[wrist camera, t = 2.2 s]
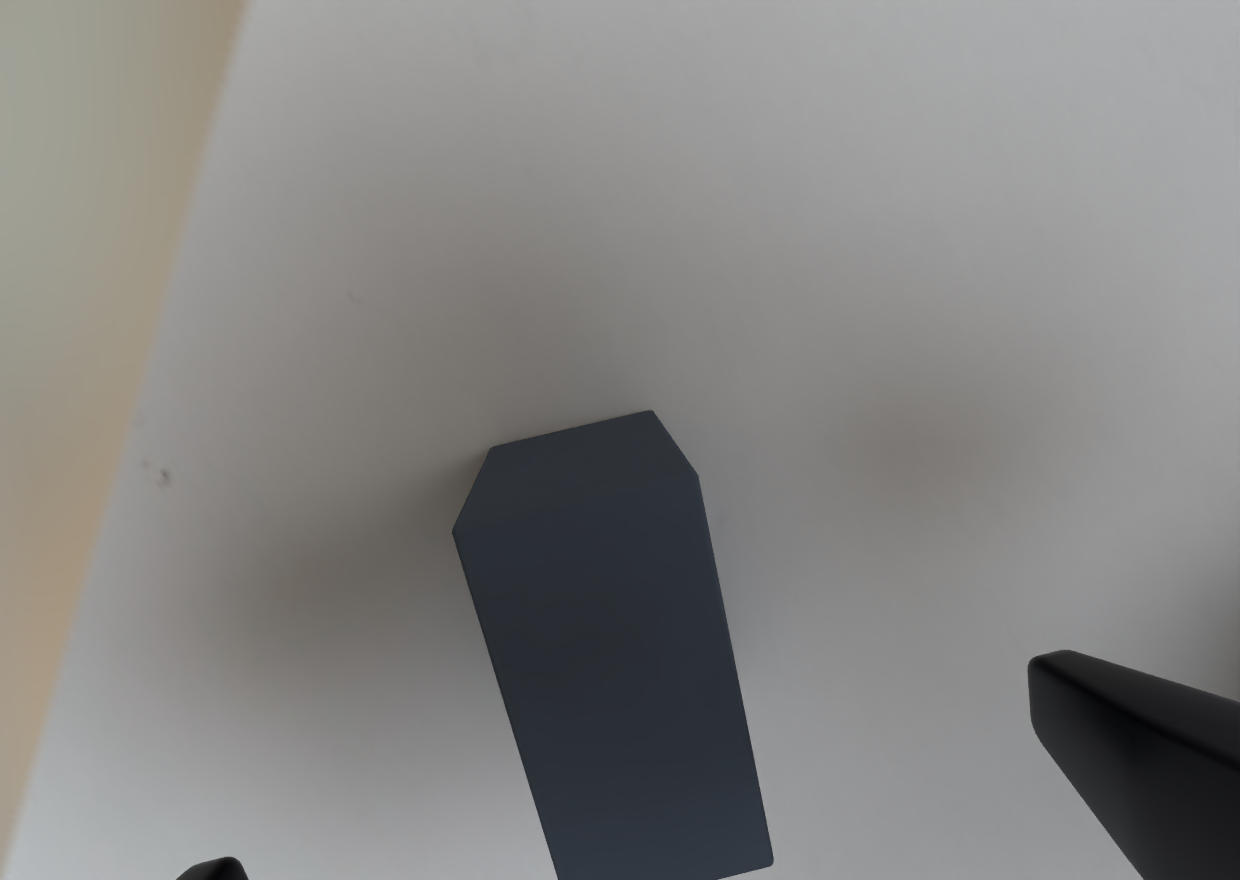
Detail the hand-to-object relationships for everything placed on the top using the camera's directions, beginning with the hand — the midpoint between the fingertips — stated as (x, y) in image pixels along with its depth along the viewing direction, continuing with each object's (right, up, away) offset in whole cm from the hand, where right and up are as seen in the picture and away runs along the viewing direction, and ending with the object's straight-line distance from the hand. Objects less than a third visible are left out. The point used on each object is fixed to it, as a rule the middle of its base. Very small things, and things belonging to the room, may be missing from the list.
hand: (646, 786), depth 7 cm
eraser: (-1, +1, +5) cm, 5 cm away
